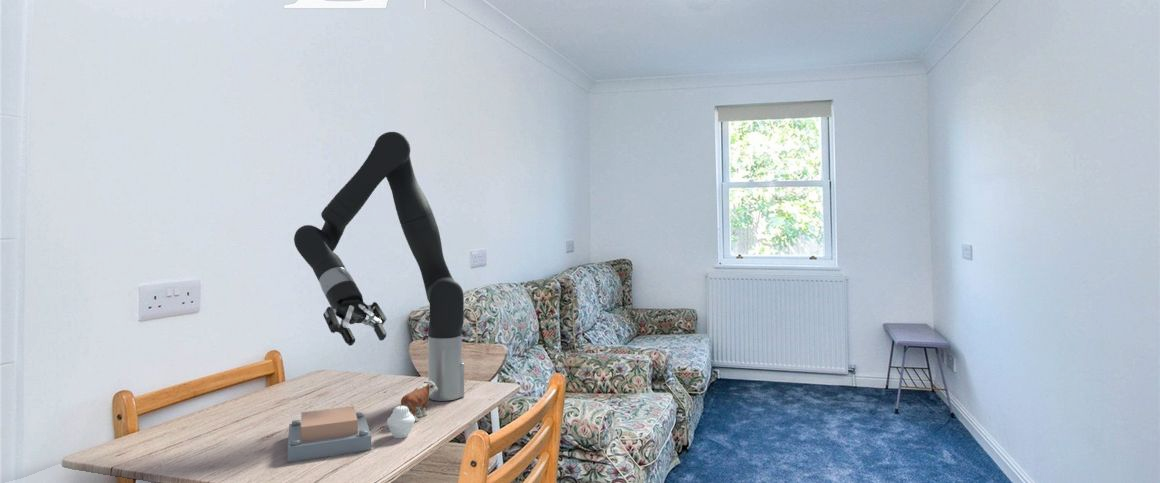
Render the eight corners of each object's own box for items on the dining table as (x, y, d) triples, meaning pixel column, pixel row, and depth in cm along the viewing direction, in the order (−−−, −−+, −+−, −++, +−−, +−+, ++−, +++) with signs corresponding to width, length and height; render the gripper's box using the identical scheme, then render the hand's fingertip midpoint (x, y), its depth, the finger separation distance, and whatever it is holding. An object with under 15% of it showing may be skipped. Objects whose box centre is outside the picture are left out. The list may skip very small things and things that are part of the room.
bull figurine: (440, 410, 153) (440, 379, 153) (409, 426, 140) (409, 392, 140) (426, 408, 154) (426, 377, 154) (394, 424, 142) (394, 391, 142)
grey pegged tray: (364, 426, 140) (364, 401, 140) (371, 449, 126) (371, 421, 125) (289, 437, 133) (289, 410, 133) (287, 462, 119) (287, 432, 119)
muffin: (384, 434, 135) (384, 403, 135) (411, 429, 138) (411, 400, 138) (389, 442, 130) (389, 411, 130) (417, 437, 133) (417, 407, 133)
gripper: (320, 281, 139) (348, 335, 133) (371, 278, 151) (400, 327, 145) (307, 302, 142) (334, 355, 136) (359, 297, 154) (386, 346, 148)
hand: (368, 340), depth 140 cm, fingers open, 8 cm apart
